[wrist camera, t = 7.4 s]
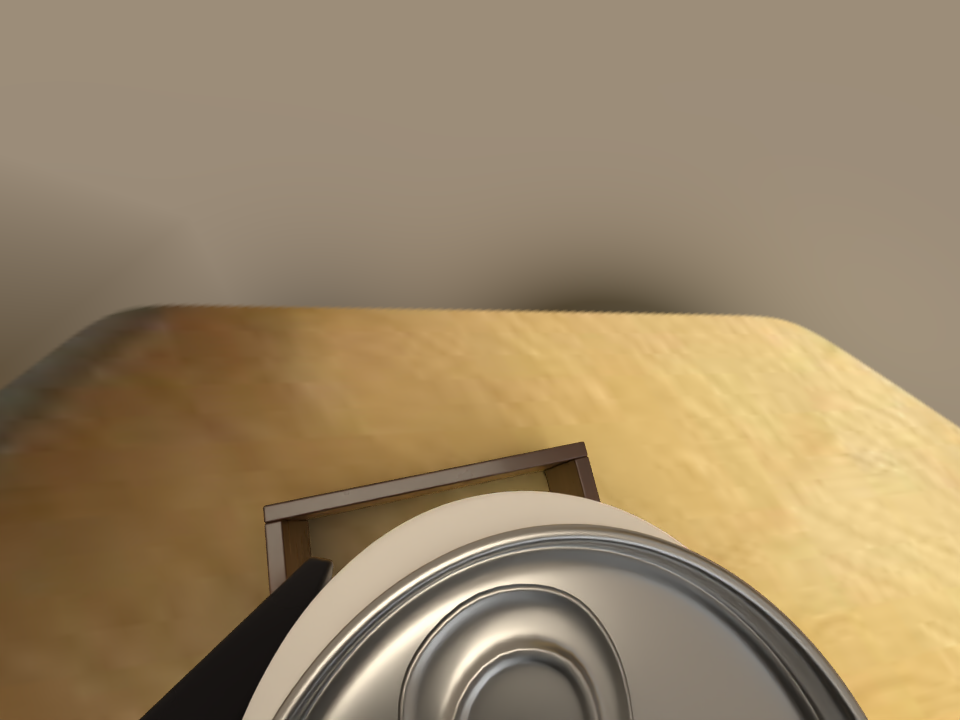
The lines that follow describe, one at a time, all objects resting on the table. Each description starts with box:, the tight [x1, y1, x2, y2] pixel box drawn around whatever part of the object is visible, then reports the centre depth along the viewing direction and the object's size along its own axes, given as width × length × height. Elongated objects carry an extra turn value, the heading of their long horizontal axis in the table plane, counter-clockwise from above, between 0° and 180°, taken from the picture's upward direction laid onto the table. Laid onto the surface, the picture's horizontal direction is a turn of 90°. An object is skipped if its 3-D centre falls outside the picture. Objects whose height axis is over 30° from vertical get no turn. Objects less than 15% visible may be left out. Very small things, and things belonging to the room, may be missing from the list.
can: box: [242, 491, 868, 720], centre depth 9 cm, size 6×6×12 cm
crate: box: [263, 442, 600, 595], centre depth 18 cm, size 13×12×4 cm
